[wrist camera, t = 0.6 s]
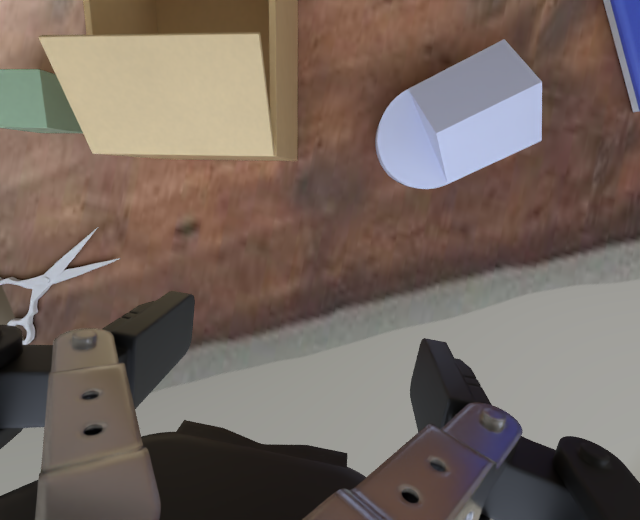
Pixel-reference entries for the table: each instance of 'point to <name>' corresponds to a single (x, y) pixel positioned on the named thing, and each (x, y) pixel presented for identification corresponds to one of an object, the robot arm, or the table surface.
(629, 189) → the table surface
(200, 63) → the flap
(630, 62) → the hard drive
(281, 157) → the carton
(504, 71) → the wedge on round base
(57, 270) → the scissors
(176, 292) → the robot arm
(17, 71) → the block
